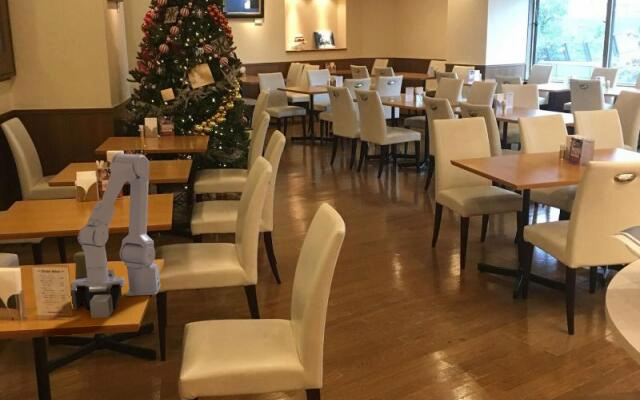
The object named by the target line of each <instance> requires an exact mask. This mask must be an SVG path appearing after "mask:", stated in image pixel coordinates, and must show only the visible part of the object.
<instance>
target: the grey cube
mask: <svg viewBox="0 0 640 400" xmlns="http://www.w3.org/2000/svg"><path fill="white" fill-rule="evenodd" d="M113 311H114V310H113V305H112V297H111V294H109V295H94V297H93V298H90V315H91V318H93V319H95V318H110V317H111V314H112V313H113Z"/></svg>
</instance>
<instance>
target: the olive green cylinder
mask: <svg viewBox="0 0 640 400" xmlns="http://www.w3.org/2000/svg"><path fill="white" fill-rule="evenodd" d="M72 260H73V262H74V264H75V279H74V280H77V279H85V278H86V273H87V269H86V261H85V254H84V251H78V252H76V253H74V254H73V257H72Z"/></svg>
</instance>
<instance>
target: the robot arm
mask: <svg viewBox="0 0 640 400" xmlns="http://www.w3.org/2000/svg"><path fill="white" fill-rule="evenodd" d="M150 163H151V162H150V160H149V159H148V157H146V156H145V155H144V154H130V153H129V154H128V153H119V152H118V153H115V154H114V155H113V156H112V158H111V161H110V164H109V171H110V175H109V178H108V182H107V184H106V187H105V189H104V193H103V195H102V199H101V200H98V201H97V202H95V204H94V206H93V209H92V211H91V213H90V216H89V218H88V220H87V223H86V224H85V225H83V226H82V227H81V228H80V229H79V231H78V235H77V241H78V243H79V244H80V245H81V249H82V251H83V252H84V254H85V261H86V269H87V277H88V278H85V279H78V280H75V279H73V280H72V281H71V285H72V286H73V288H77V290H76V294H77V295H78V296H79V297H80V298H81V300H82V303H83V305H84V307H85V310H86V312H90V311H91V309H90V301H91V298H90V297H89V287H99V286H112V287H111V288H110V293H111V297H112V305H113V311H115V310H117V308H118V303H119V301H118V296H119V293H120V290H122V288H123V287H124V286H125V285H126V278H125V277H120V276H115V277H109V276H108V270H109V267H108V268H107V266H108V260H106V258H107V252H105V251H106V244H107V242H108V240H109V230H110V227H109V226H110V223H111V220H112V218H113V216H114V214H115V212H116V209H115V206H114V203H115V202H116V200H117V198H118V196H119V194H120V192H121V190H122V189H123V187H124V185H125V183H127V182H128V183H129V185H130V187H129V189H130V192H129V212H128V213H129V215H128V216H129V218H128V234H127V235H126V236H125V237H124V238H123V239H122V240H121V241H122V242H121V247H120V249H119V259H120V260H121V261H122V262H123V263H124V266H126V270H127V280H128V288H129V289H128V290H127V291H126V294H125V296H126V297H129V296H130V297H131V296H132V297H133V296H149V295H151V296H154V295H157V294H158V293H159V290H160V288H161V286H162V285H161V280H160V279H161V277H160V276H161V275H160V268H159V265H158V263H154V261H155V259H156V250H155V246H154V245H155V241H154V240H153V239H152V238H151V237H150V236H149V235H148V234H147V233H148V231H147V228H148V207H149V184H150V183H149V182H150V181H149V180H150ZM119 277H120V278H119Z"/></svg>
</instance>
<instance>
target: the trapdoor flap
mask: <svg viewBox="0 0 640 400" xmlns="http://www.w3.org/2000/svg"><path fill="white" fill-rule="evenodd" d="M108 276H109V277H116V275H115V270H114V269H108ZM86 278H88V277H87V273H86ZM108 287H109V286H99V287H89V292H96V291H107V288H108ZM76 290H77V289H76ZM76 290H75V291H76Z"/></svg>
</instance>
